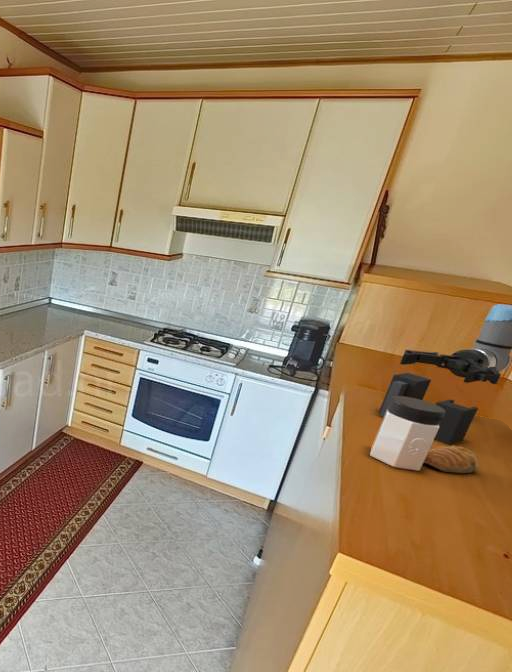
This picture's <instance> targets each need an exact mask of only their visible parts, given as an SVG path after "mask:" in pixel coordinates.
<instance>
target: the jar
mask: <svg viewBox="0 0 512 672" xmlns="http://www.w3.org/2000/svg"><path fill="white" fill-rule="evenodd" d="M444 414H445V410H444V409H443V408H441V407H440V406H437V405H436V403H432V402H429V401H426V400H424V399H423V400H419V399H415V398H410V397H404V396H394V397H392V398H391V401H390V403H389V406H388V408H387V411H386V413H385V415H384V417H382V420H381V423H380V425H379V428H378V430H377V433H376V435H375V436H374V437H375V438H374V440H373V443H372V445H371V447H370V453H369V456H370V457H371V458H373V459H376V460H378V461H380V462H382V463H384V464H386V465H389V466H391V467H393V468H396V469H403V470H410V471H416V472H419V471H421V469H422V466H423V464H424V460H425V458H426V456H427V454H428V451H429V450H431V447H432V445H433V443H434V440H435V439H434V438H435V436H436V434H437V432H438V429H439V424H440V423H441V421H442V420H443V418H444Z"/></svg>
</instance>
